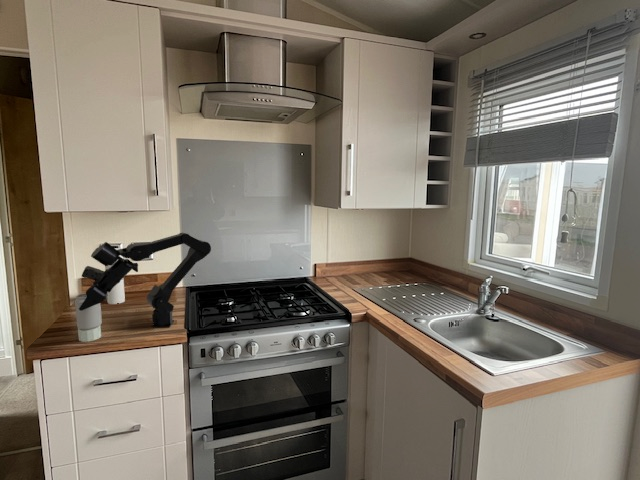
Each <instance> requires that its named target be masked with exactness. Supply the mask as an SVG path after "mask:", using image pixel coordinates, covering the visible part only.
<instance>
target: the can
mask: <svg viewBox="0 0 640 480" xmlns="http://www.w3.org/2000/svg"><path fill="white" fill-rule="evenodd" d="M86 297H87V295H86V292H84V293H81V294H78V295H77V296H76V299H75V300H74V305H75V306H74V307H75V316H76V326H77V329H78V328H80V329H81V330H91V329H95V328H97V327H99V326H101V324H103V322H102V308H101V303H99V304H96V305H94V306H91V307H89V308H87V309H85V310H82V311H80V310H79V308H80V306H81V305H82V303H83V302H84V300H85V299H86Z"/></svg>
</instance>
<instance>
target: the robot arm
mask: <svg viewBox="0 0 640 480" xmlns="http://www.w3.org/2000/svg"><path fill="white" fill-rule="evenodd" d="M183 244H184V245H185V246H187V247H189V249H188V251H187V254H186V256H185V257H184V259H183V260H182V261H181V262H180V264H179V265H178V266H177V267H175V269H174V270H173V271H172V273H171V274H170V275H169V276H168V277H167V278H166V280H164V282H163V283H162V284H160V285H157V284H154V285H153V287H152V288H151V289H150V290H149V291H147V296H146V301H147V304H149V306H151V307H152V308H153V309H154V310H153V312H152V314H151V315H152V317H151V320H152V322H151V323H152V326H151V327H152V328H156V329H157V328H170V327H171V326H172V324H173V323H174V322H175V320H174V319H173V311H174V308H175V306H174V304H172V303H171V302H169V301H170V300H171V297H172V294H173V291H174V290H175V289H176V287H178V285H179V283H181V282H182V280H183V279H184V278H185V277H186V275H187V274H188V273H189V272H190V271H191V270H192V268H193V267H194V266H195V265H196V263H198V262H200V261H201V260H203V259H205V258H206V257H207V256H208V255H209V254H210V253H211V251H212V247H211V244H210V242H208V241H204V240H201V239H197V238H195V237H193V236H191V235H190V234H189V233H186V232H179V233H178V234H174V235H171V236H166V237H164V238H160V239H157V240H153V241H149V242H147V241H146V242H135V243H130V244H128V245H127V246H126V247H123V248H121V249H119V250H116V249H115V247H113V246H112V245H111V244H110V242H109V243H108V242H107V241H105V242H103V244H100V245H99V246H98V247H96V248H95V249H94V250H93V252H92V253H91V255H90V257H91V258H92V259H94V260H95V261H97V262H99V264H101V265H103V266H104V267H105V266H108V265H110V266H111V265H112V266H111V267H110V268H109V269H106V270H105V269H104V270H102V269H99V268H96V267H94V266H90V265H87V266H85V267H84V270H83V271H82V273H81V277H82V278H84V279H89V280H92V281H93V283H92V284H91V285H90V286H89V287H88V288H87V289H86V290H85V293H86V295H87V297H86V299H85V300H84V302H83V303H82V305H81V306H80V308H79V310H80V311H82V310H85V309H87V308H89V307H91V306H94V305H96V304H99V303H103V302H105V300H107V296H108V294H107V292H110V291H111V290H112V288H113V287H114V286H115V285H116V284H118V283H119V282H120V281H121V280H122V279H124V278H125V277H126V276H127V274H129V273H130V272H131V271H132V270H133V271H134V272H136V273H138V272H139V263H138V262H140V261H142V260H143V261H144V260H145V259H147V258H149V257H150V256H151V255H153V254H155V253H158V252H161V251H164V250H167V249H171V248H174V247H177V246H180V245H183ZM119 255H121V256H122V258H121V257H120V256H119ZM133 261H134V262H133Z"/></svg>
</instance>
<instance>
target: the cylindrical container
mask: <svg viewBox="0 0 640 480" xmlns="http://www.w3.org/2000/svg"><path fill="white" fill-rule="evenodd" d="M114 248H115V247H114ZM115 249H116V250H119V249H122V248H119V247H116V248H115ZM119 256H120V257H121V258H123V257H122V256H121V255H119ZM111 266H112V265H111ZM111 266H110V265H108V266H105V265H104V271H105V270H106V269H109V268H110V267H111ZM107 294H108V296H107V298H106V300H107V301H106V302H107V304H109V305H117V303H119V304H122V303H125V301H126V298H125V296H126V295H125V281H124V278H123V279H122V280H121V281H120V282H119V283H118V284H116V285H115V286H114V287H113V288H112V290H111V291H110V292H107Z"/></svg>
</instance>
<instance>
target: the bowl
mask: <svg viewBox="0 0 640 480" xmlns="http://www.w3.org/2000/svg"><path fill="white" fill-rule="evenodd" d="M77 332H78V333H77V334H78V341H79V342H82V343H85V342H93V341H96V340H98V339H100V338H101V337H102V329H101V325H100V326H99V327H97V328H95V329H91V330H81V329H80V328H78V327H77Z"/></svg>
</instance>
